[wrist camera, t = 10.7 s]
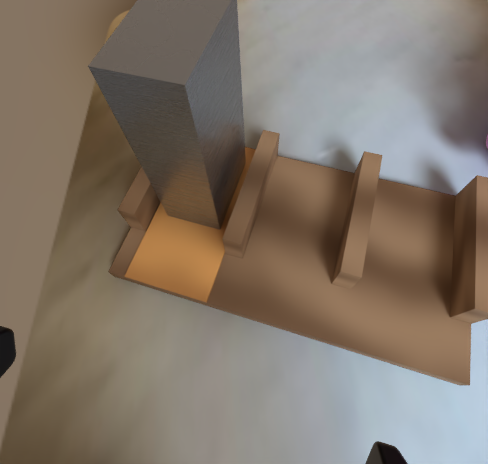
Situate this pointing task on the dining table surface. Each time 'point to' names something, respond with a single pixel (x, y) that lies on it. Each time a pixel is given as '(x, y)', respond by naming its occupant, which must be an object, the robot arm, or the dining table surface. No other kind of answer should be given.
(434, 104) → the dining table surface
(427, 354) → the rail rack
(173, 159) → the tall grey box
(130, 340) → the dining table surface
